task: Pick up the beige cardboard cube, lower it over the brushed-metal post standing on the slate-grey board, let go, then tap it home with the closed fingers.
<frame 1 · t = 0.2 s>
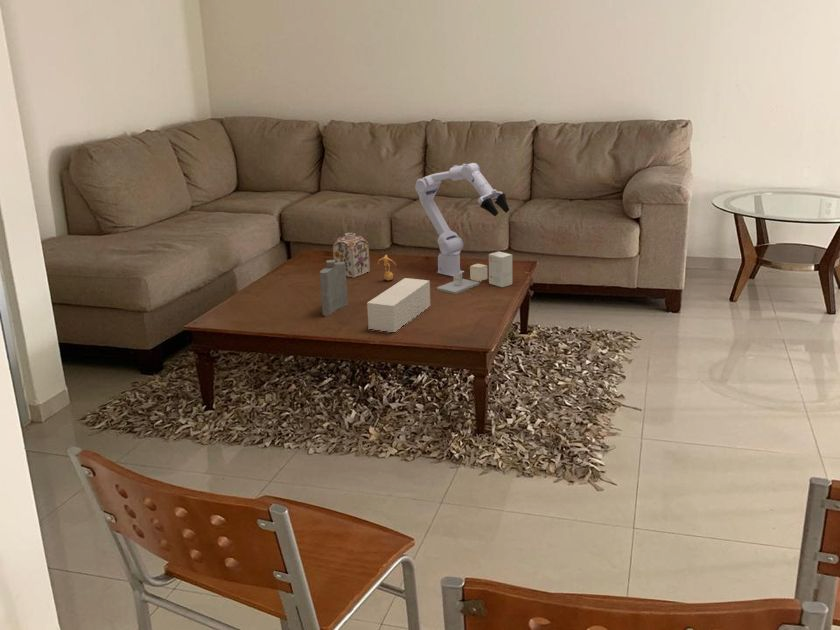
hand: (502, 212, 362), 31 cm above the table, tool tilted 45°, fingers open, 7 cm apart
post: (458, 279, 369), on the base board, point 4 cm above the table
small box: (500, 284, 373), on the table
decorative jar: (352, 273, 394), on the table
long white block: (400, 318, 337), on the table
beige cardboard cube: (478, 279, 380), on the table
hip flask: (334, 310, 348), on the table
figurine: (388, 281, 382), on the table
base board: (458, 287, 370), on the table
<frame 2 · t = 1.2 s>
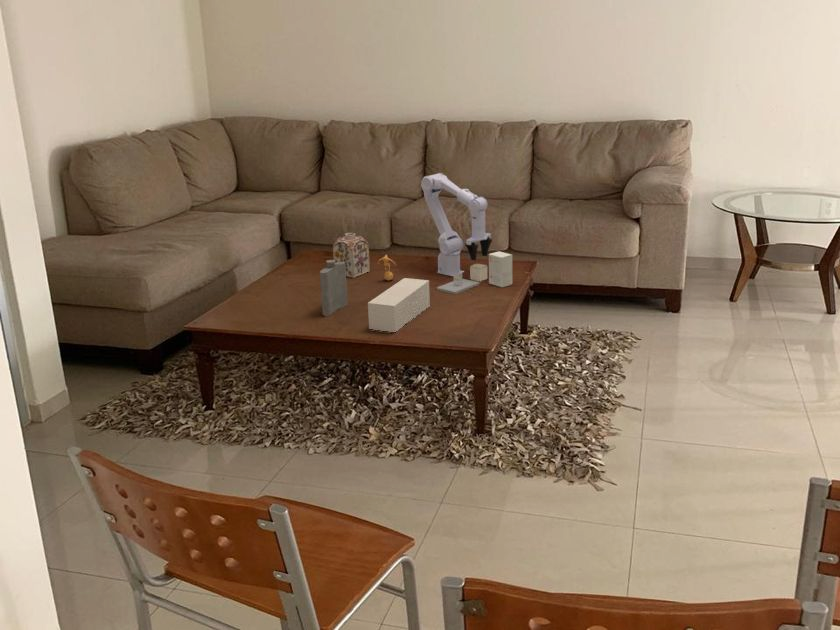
hand: (479, 257, 377), 10 cm above the table, tool pointing down, fingers open, 7 cm apart
nothing on the table moved.
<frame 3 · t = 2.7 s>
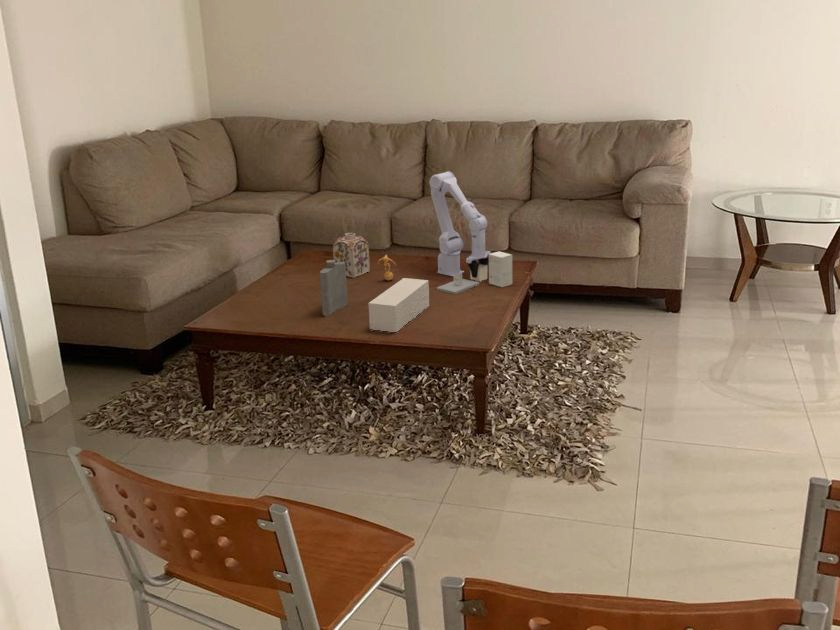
hand: (478, 275, 379), 2 cm above the table, tool pointing down, fingers closed on beige cardboard cube, 5 cm apart
beige cardboard cube: (478, 279, 380), on the table, touching gripper
everything else where it was.
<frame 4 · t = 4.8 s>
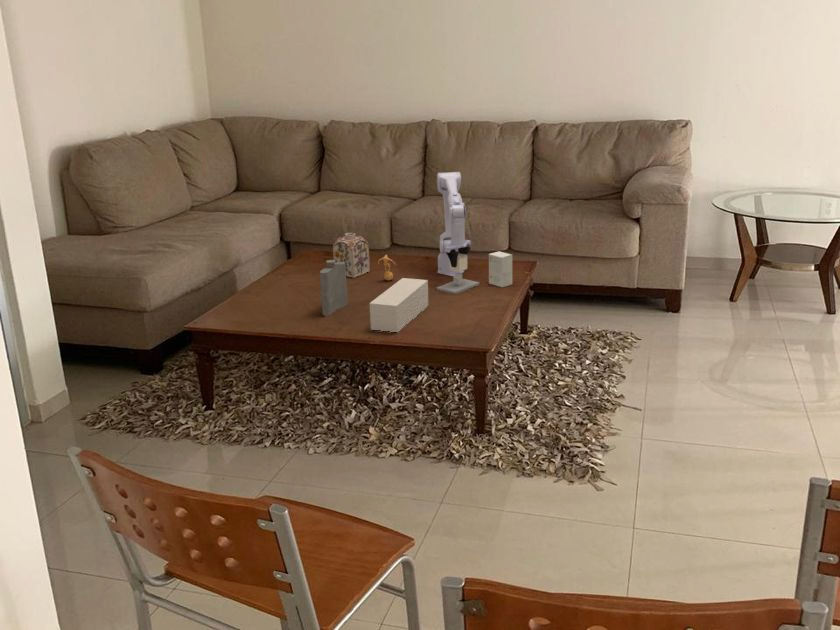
hand: (458, 265, 367), 9 cm above the table, tool pointing down, fingers closed on beige cardboard cube, 5 cm apart
beige cardboard cube: (458, 269, 368), point 8 cm above the table, touching gripper
everything else where it was.
when the fingers open (4 cm above the table, at t = 7.2 s): beige cardboard cube stays where it is, resting on base board.
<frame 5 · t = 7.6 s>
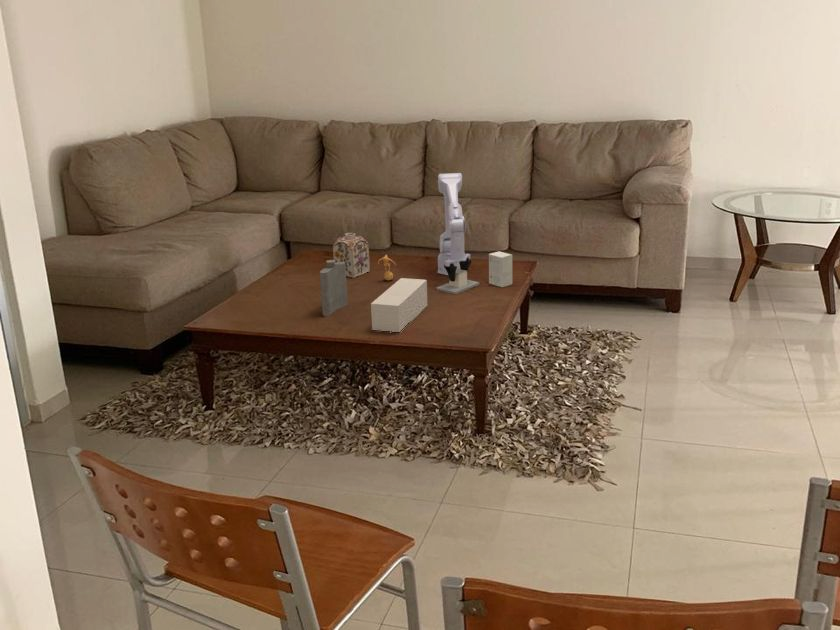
hand: (458, 278, 369), 4 cm above the table, tool pointing down, fingers open, 7 cm apart
beige cardboard cube: (458, 284, 370), point 1 cm above the table, touching base board
everything else where it was.
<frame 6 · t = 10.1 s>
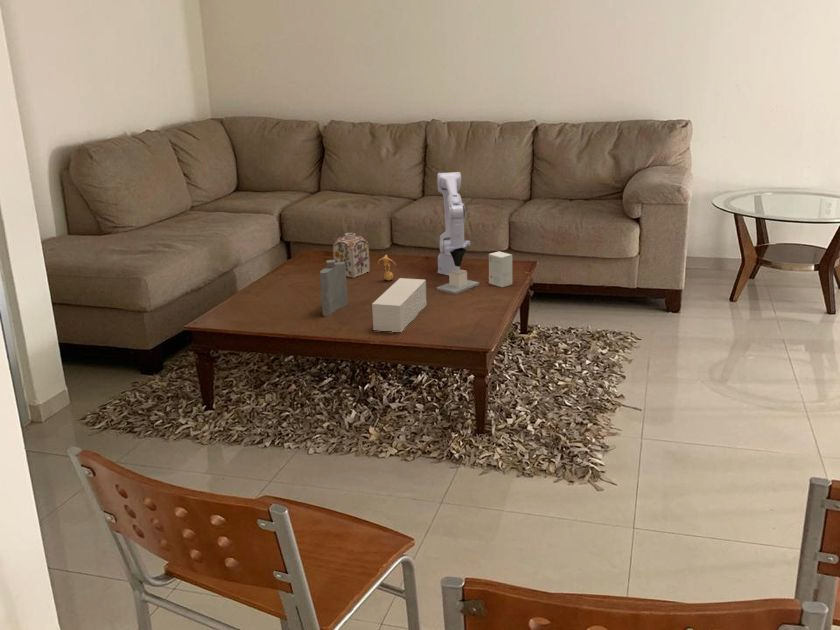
hand: (457, 265, 367), 9 cm above the table, tool pointing down, fingers closed
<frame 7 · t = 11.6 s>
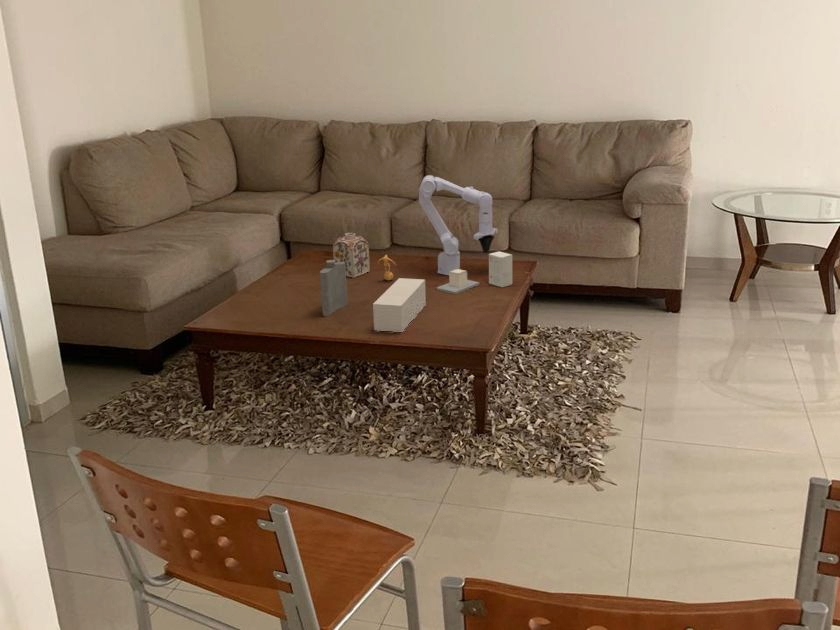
hand: (485, 252, 385), 9 cm above the table, tool pointing down, fingers closed
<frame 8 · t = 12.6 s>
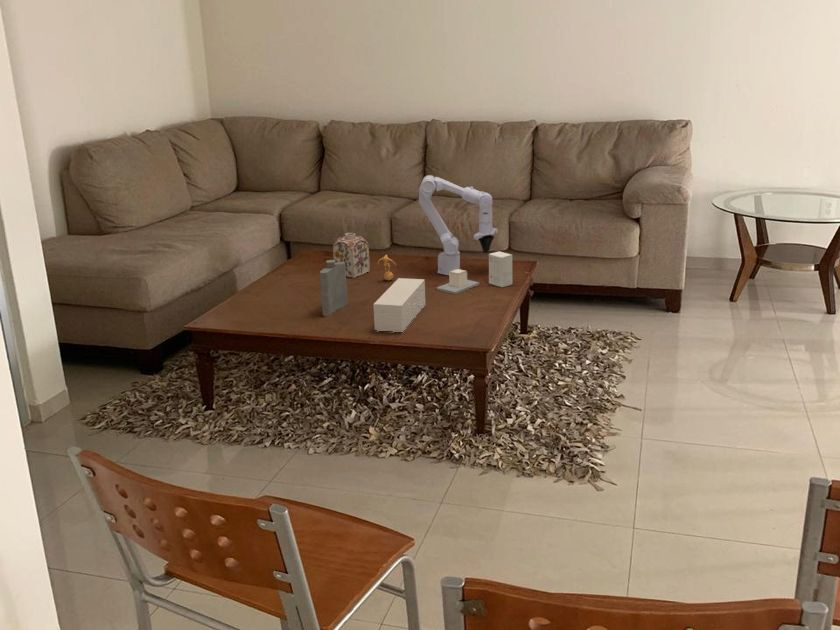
hand: (485, 252, 385), 9 cm above the table, tool pointing down, fingers closed
nothing on the table moved.
at the end: beige cardboard cube 0.1 cm from the post (horizontally); beige cardboard cube point 1.0 cm above the table; the gripper is holding nothing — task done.
